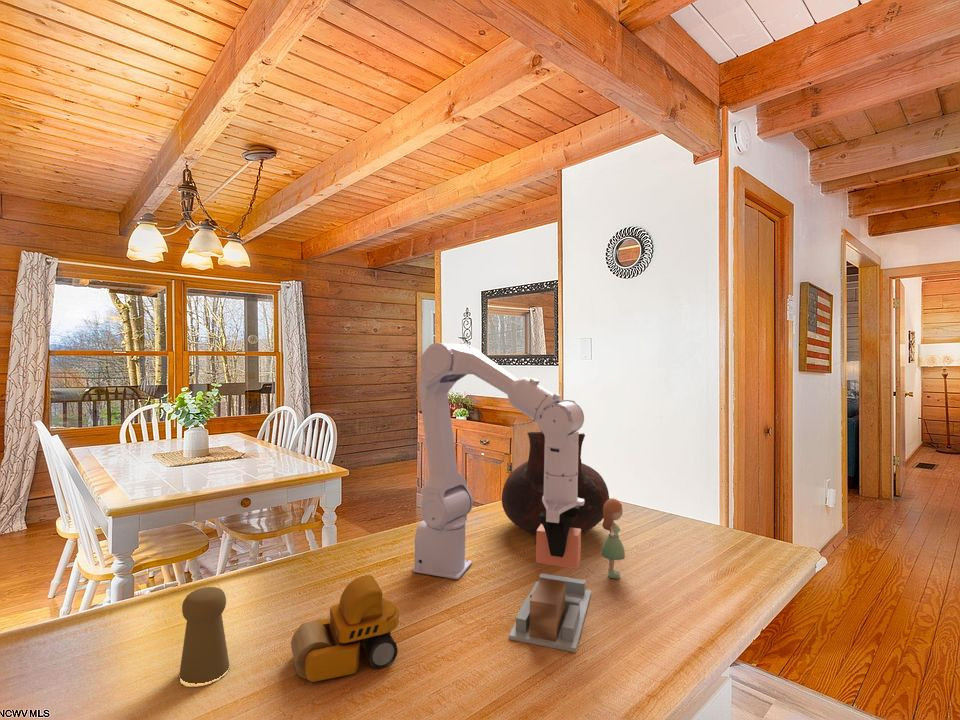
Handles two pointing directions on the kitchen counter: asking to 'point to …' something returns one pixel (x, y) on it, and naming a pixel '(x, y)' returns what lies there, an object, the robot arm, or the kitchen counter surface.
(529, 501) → the jug
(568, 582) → the jig
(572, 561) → the pink block
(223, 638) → the brown pawn figure
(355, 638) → the toy road roller
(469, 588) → the kitchen counter surface
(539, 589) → the small taupe brick
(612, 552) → the toy
